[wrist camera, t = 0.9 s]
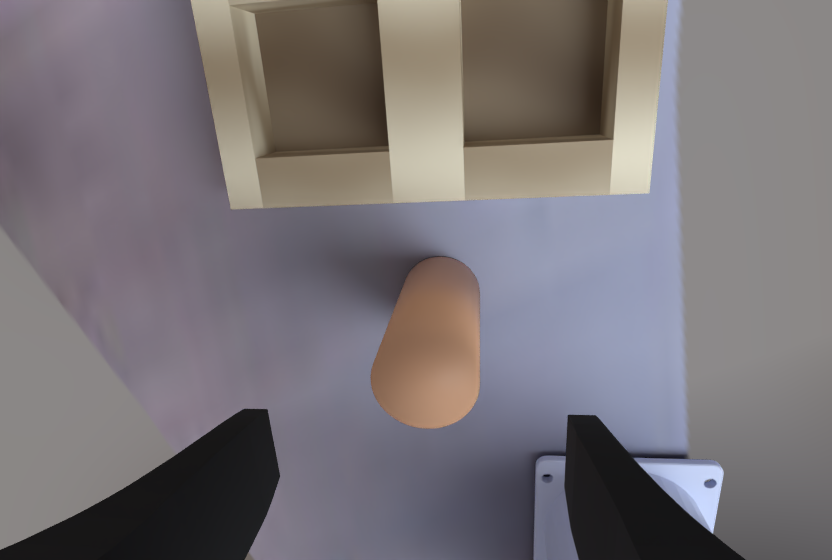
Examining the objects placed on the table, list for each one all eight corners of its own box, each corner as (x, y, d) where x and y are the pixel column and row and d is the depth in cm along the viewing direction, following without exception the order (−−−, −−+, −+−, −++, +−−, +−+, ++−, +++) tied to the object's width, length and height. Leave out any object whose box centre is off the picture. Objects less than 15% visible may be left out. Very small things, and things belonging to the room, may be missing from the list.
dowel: (480, 327, 22) (480, 429, 15) (406, 327, 22) (375, 427, 16) (478, 255, 21) (478, 333, 14) (400, 257, 21) (365, 334, 14)
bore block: (623, 177, 19) (649, 192, 16) (264, 192, 21) (230, 209, 18) (643, -77, 16) (678, -112, 13) (226, -34, 18) (180, -56, 15)
